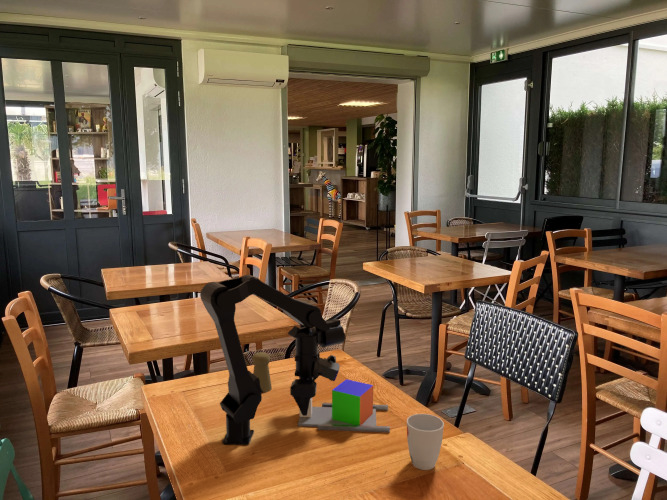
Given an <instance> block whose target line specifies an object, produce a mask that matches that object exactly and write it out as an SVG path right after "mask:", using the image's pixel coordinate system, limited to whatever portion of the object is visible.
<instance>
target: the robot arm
mask: <svg viewBox="0 0 667 500" xmlns="http://www.w3.org/2000/svg"><path fill="white" fill-rule="evenodd" d="M252 295H253V296H255V297H258V298H260V299H261V300H263V301H265V302H267V303H269V304H271V305H272V306H275V307H277V308H278V309H280V310H282V311H283V312H284V313H285V314H286V315H287V316H288V317H289V318H291V319H292V320H293V321H294V322H296V323H297V324H300V325H301V326H303V327H298V326H296V325H294V326H293V328H291V329H290V330H288V332H287V334H288V336H290V337H292V338H294V339H295V355H294V362H295V371H294V377H298V378H295V379H294V380H293V381H292V382H291V384H290V387H289V389H290V390H289V392H290V393H289V394H290V396H291V397H293V399H294V401H295V403H296V405H297V407H298V409H299V412H300V411H301V413H302V415H303V416H307V413H308V407H309V402H310V399H311V398H312V399H313V398H315V397H316V394H317V387H318V385H317V384H318V383H317V381H316V380H317V379H318V378H320V377H322V378H325V379H328V380H329V381H330V382H331V381H332V382H335V381H336V379H337V377H338V374H339V372H340V367H341V365H340V363H339V362H337V358H336V355H334V354H330V355H329V356H328V357H324V358H322V357H321V356H320V355H321V354H320V352H319V346H320V347H321V348H323V349H324V348H328V347H333V346H337V345H338V346H339V345H342V344H343V343H344V342H345V339H346V333H345V330H344V328H343V326H342V324H341V319H338V318H333V319H329V320H325V319H324V318H323V316H322V310H321V308H320V307H318V306H316V305H314V304H312V303H309V302H307V301H304V300H302V299H301V300H300V299H298V298H294V297H291V296H289V295H287V294H286V293H284V292H282V291H280V290H279V289H276V288H274V287H273V286H271V285H269V284H268V283H265V282H263V281H262V280H261V279H260V278H258V277H256V276H254V275H251V274H243V275H242V276H239V277H236V278H229V279H225V280H221V281H219V282H217V281H211V282H208V283H206V284H205V285H204V286H203V287H202V289H201V290H200V293H199V296H200V300H201V302H202V305H204V306H203V307H204V308H205V310H206V312H207V313H208V314H209V316H210V318H211V319H212V321H213V322H214V326H215V329H216V332H217V335H218V339H219V343H220V346H221V349H222V352H223V353H222V354H223V356H224V360H225V363H226V364H225V365H226V366H227V370H228V375H229V376H228V381H227V388H228V392H227V393H226V395H224V397H223V399H222V400H221V401H220V402H219V406H220V409H221V410H222V411H224V413H226V414H225V429H226V430H225V431H226V432H225V433H226V434H225V435H224V438H223V439H222V441H221V444H223V445H238V446H239V445H241V446H243V445H244V446H248V445H250V443H251V442H252V441H251V440H252V438H253V436H254V433H255V430H254V429H251V420H253V419H255V416H256V414H257V409H258V407H259V406H260V404H261V402H262V394H264V393H263V391H262V390H261V387H260V380H259V378H258V377H257V376H255V375H254V374H253V372H251V371H250V370H248V366H247V362H246V359H245V355H244V351H243V348H242V347H243V346H242V344H241V340H240V337H239V333H238V329H237V325H236V322H235V316H236V315H235V314H236V310H237V309H236V304H239V303H241V302H243V301H245V299H247V298H249V296H252Z"/></svg>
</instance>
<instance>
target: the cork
mask: <svg viewBox="0 0 667 500" xmlns="http://www.w3.org/2000/svg"><path fill="white" fill-rule="evenodd" d="M251 359H252V360H251V361H252V364H253V370H252V371H253V372H252V373H253V374H254V375H255V376H257V377H258V378H259V380H260V387H261V390H262V391H263V393H262V394H264V393H268V392H270V391H271V390H272V381H271V374H270V368H269V365H270V361H271V357H270V354H269V353H267V352H264V351H261V352H256V353H254V354H253V355H252V358H251Z"/></svg>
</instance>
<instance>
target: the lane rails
mask: <svg viewBox="0 0 667 500" xmlns="http://www.w3.org/2000/svg"><path fill="white" fill-rule="evenodd" d="M321 407H332V402H322V403H321ZM373 409H376V411H389V405H388V404H374V403H373ZM317 430H318V431H341V432H366V433H369V432H370V433H391V426H389V425H376V426H369V425H342V424H318V427H317Z"/></svg>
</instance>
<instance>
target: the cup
mask: <svg viewBox="0 0 667 500" xmlns="http://www.w3.org/2000/svg"><path fill="white" fill-rule="evenodd" d="M444 426H445V423H444V421H443V420H442V419H441V418H440V417H438V416H436V415H433V414H430V413H429V414H428V413H415V414H412V415H410V416H408V417H407V418H406V438H407V439H406V440H407V446H408V447H407V448H408V453H409V454H408V455H409V456H410V460H411V463H412V466H413V467H414V468H416V469H418V470H422V471H430V470H432V469H434V468H435V466H436V464H437V462H438V459H439V455H440V452H441V447H442V444H443V435H444Z"/></svg>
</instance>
